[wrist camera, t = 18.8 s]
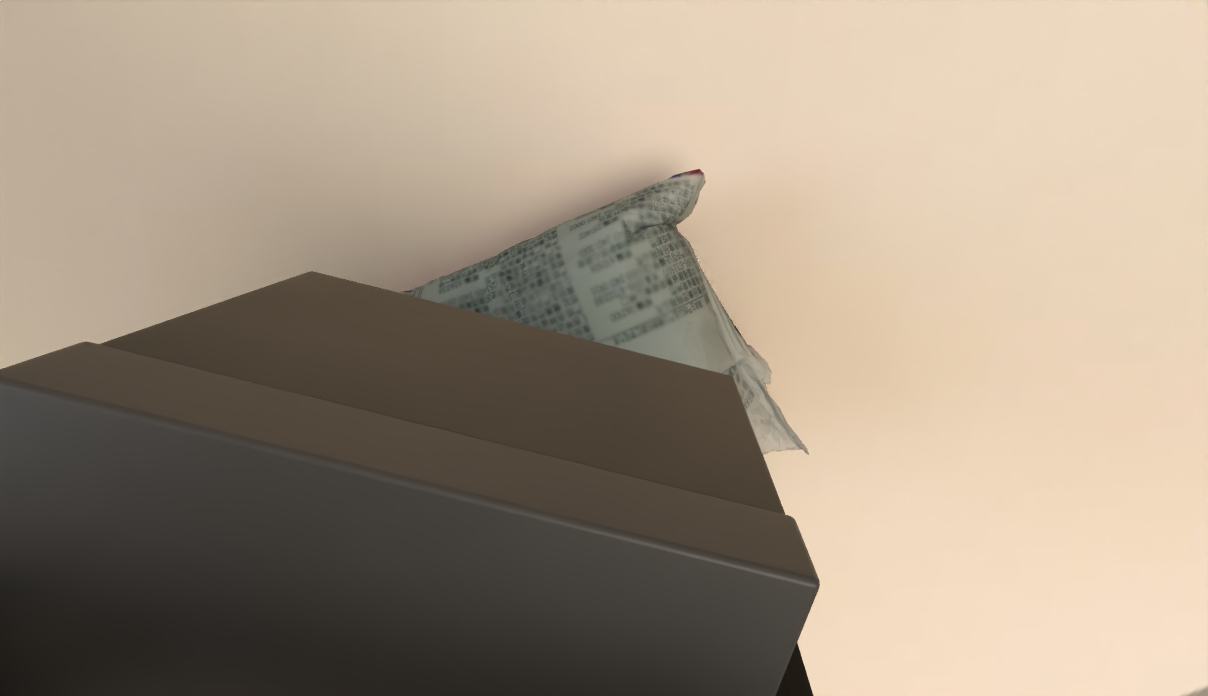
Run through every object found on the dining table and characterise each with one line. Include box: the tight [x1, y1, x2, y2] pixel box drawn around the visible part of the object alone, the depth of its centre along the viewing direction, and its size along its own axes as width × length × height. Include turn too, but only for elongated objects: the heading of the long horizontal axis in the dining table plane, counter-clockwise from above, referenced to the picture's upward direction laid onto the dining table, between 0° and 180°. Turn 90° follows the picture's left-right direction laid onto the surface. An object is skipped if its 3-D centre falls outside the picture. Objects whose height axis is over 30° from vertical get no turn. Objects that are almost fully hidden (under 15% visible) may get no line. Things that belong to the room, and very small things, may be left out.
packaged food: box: [401, 169, 809, 454], centre depth 19 cm, size 9×12×5 cm
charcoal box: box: [0, 271, 820, 696], centre depth 8 cm, size 7×7×5 cm
